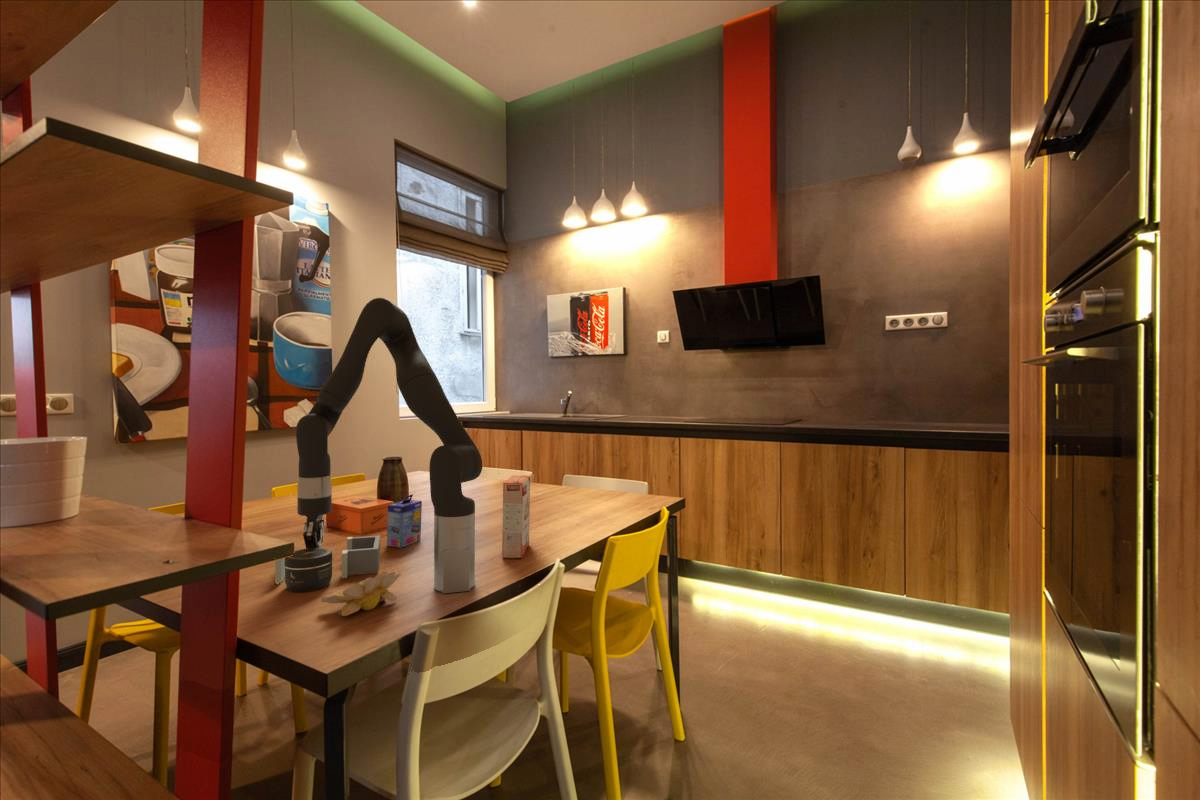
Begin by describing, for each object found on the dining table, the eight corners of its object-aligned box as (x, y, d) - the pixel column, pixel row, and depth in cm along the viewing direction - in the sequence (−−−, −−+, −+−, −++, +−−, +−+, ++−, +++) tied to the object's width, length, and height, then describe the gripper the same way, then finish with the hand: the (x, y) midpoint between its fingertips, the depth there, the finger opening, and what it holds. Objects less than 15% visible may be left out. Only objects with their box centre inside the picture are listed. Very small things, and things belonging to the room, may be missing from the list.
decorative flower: (381, 581, 130) (384, 542, 127) (410, 604, 123) (413, 563, 121) (315, 605, 118) (317, 562, 116) (343, 632, 111) (346, 587, 109)
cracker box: (523, 559, 153) (523, 482, 152) (501, 559, 153) (501, 482, 152) (530, 545, 167) (531, 474, 166) (510, 544, 167) (510, 474, 166)
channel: (377, 574, 139) (377, 550, 139) (275, 584, 132) (275, 559, 132) (380, 556, 155) (380, 534, 154) (288, 564, 147) (288, 541, 147)
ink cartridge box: (402, 548, 162) (402, 498, 162) (386, 546, 164) (385, 497, 164) (422, 539, 172) (422, 492, 172) (407, 538, 173) (407, 491, 173)
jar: (274, 591, 128) (273, 557, 128) (306, 576, 138) (305, 545, 137) (312, 595, 126) (312, 561, 125) (341, 580, 135) (341, 548, 135)
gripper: (326, 498, 133) (325, 571, 134) (336, 488, 146) (336, 554, 147) (290, 500, 131) (290, 573, 132) (304, 489, 144) (304, 556, 145)
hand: (314, 563), depth 139 cm, fingers closed
